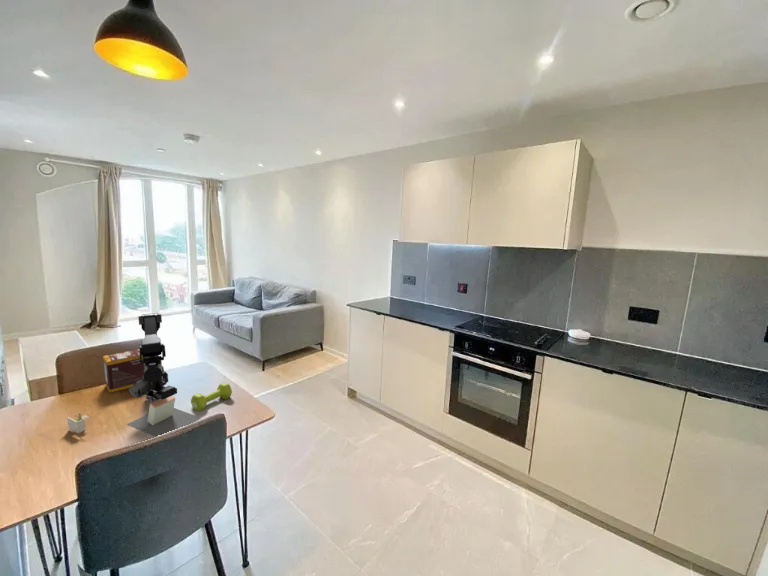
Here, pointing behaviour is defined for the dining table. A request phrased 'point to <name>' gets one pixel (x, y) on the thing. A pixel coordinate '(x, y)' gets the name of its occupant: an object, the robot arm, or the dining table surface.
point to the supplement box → (123, 370)
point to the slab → (161, 410)
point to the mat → (164, 423)
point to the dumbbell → (211, 396)
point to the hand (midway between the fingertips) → (156, 407)
